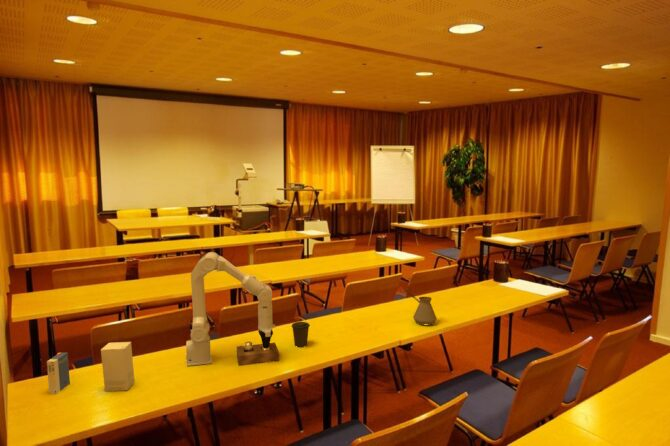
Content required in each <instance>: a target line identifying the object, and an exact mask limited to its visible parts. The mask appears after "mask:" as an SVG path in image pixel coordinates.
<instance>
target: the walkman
mask: <svg viewBox="0 0 670 446" xmlns="http://www.w3.org/2000/svg"><path fill="white" fill-rule="evenodd" d="M69 365H70V364H69V354H68V352H58V353H57V354H56V355H54V356H53V357H51V358H49V360H46V367H47V381H48V391H49V394H50V395H51V394H52V395H57V394H58V393H60V392H61V391H62V390H63V389H66V387H67V386H69V384H71V382H70V381H71V380H70V368H69Z"/></svg>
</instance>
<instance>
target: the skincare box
mask: <svg viewBox="0 0 670 446" xmlns="http://www.w3.org/2000/svg"><path fill="white" fill-rule="evenodd" d="M100 355H101V356H100V357H101V364H102V365H101V366H102V375H103V377H102V378H103V384H104V391H105V392H114V391H115V392H118V391H119V392H120V391H128V390H130V388H131V387H132V386H133V385H134V384H135V371H134V362H133V361H134V360H133V349H132V341H120V342H119V341H118V342H117V341H115V342H108V343H107V344H106V345H104V346H103V347H102V348H101V349H100Z"/></svg>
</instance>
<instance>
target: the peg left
mask: <svg viewBox="0 0 670 446" xmlns="http://www.w3.org/2000/svg"><path fill="white" fill-rule="evenodd" d="M252 345H253V341H245V342H244V346H245V352H252Z"/></svg>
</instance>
